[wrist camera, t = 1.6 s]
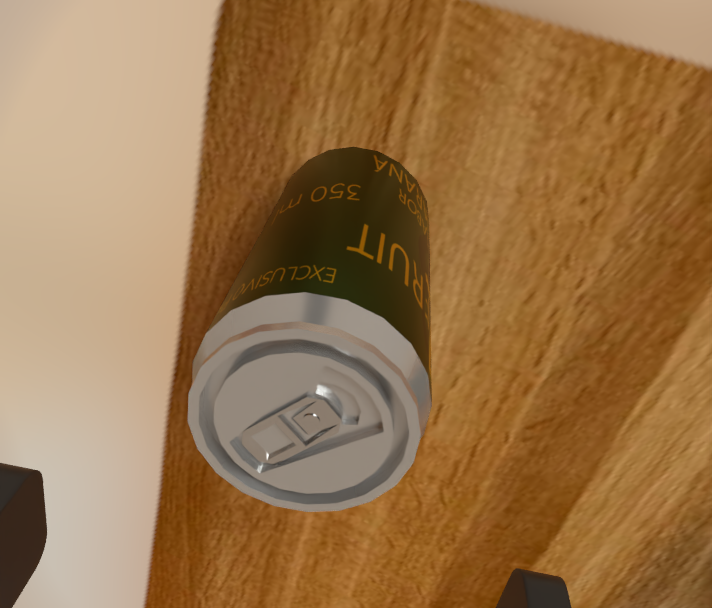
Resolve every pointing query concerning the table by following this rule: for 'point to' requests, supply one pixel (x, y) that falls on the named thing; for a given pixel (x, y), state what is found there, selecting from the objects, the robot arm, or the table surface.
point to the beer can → (323, 341)
